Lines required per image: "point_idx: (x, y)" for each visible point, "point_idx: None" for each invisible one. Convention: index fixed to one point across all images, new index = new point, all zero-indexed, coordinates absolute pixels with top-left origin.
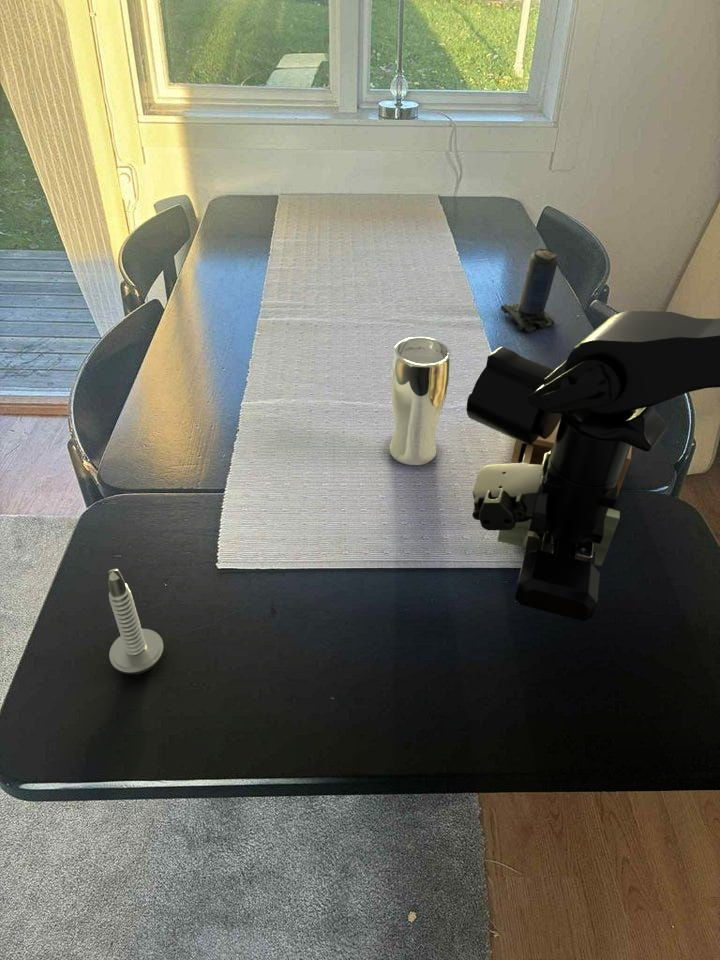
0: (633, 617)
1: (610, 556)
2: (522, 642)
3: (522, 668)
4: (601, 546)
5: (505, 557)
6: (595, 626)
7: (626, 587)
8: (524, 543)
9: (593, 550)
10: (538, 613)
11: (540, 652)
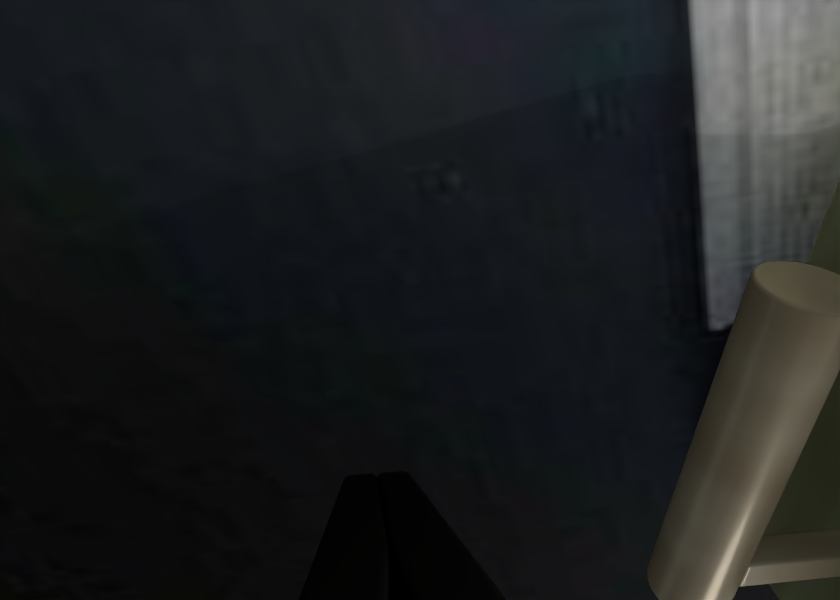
0: None
1: None
2: (184, 253)
3: (12, 277)
4: (790, 583)
5: (777, 78)
6: None
7: (626, 550)
8: (793, 311)
9: (777, 530)
10: (405, 296)
11: (163, 337)
